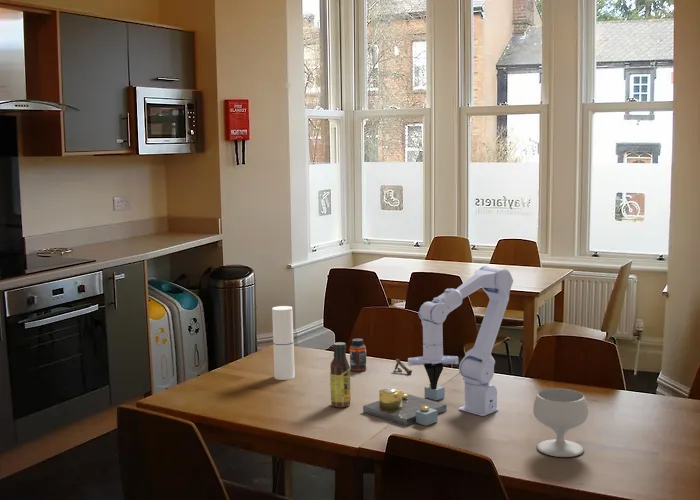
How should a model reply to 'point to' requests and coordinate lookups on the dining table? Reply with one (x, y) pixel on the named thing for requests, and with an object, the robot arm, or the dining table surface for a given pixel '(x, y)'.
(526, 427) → the dining table surface
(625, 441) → the dining table surface
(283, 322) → the cylindrical container
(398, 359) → the brown angled frame
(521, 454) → the dining table surface
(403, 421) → the base
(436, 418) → the block with brass knob
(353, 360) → the supplement bottle
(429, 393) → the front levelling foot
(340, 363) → the sauce bottle
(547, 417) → the chalice
